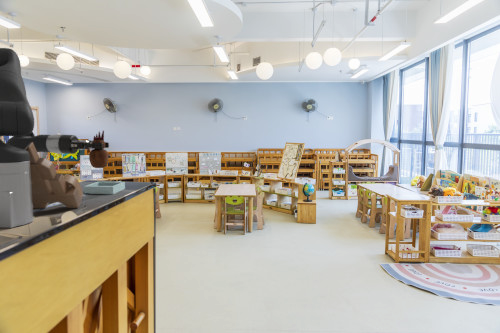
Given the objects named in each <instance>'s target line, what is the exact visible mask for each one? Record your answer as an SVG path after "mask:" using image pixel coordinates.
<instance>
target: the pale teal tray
mask: <svg viewBox="0 0 500 333" xmlns="http://www.w3.org/2000/svg"><path fill="white" fill-rule="evenodd" d="M125 189H126V182H125V181H96V182H93V183H89V184H87V185H84V186H83V194H84V193H89V194H90V195H101V194H102V195H115V194H117V193H119V192H121V191H123V190H125ZM89 194H88V195H89Z"/></svg>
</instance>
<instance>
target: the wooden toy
mask: <svg viewBox="0 0 500 333" xmlns="http://www.w3.org/2000/svg"><path fill="white" fill-rule="evenodd" d="M24 150H27V151H28V152H29V155H30V170H31V187H32V204H33V209H47V207H48V205H49V203H52V202H54V203H59V204H62V205H64V206H65V207H66V209H79V208H80V205H81V203H82V198H83V196H84V191H83V189H82V186H81V184H80V181H79V179H78V178H76V177H75V176H73V175H72V174H68V173H65V175H64V174H63V173H58V172H57V170H56V167H55V164H54V163H53V162H52V161H51V160H50V159H48V158H45V157H40V155H39V152H37V151H36V148H35V146H34V144H33V142H31V143H30V144H29V145H28V146H27V147H26V148H25V149H24Z"/></svg>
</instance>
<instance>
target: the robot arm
mask: <svg viewBox="0 0 500 333" xmlns="http://www.w3.org/2000/svg"><path fill="white" fill-rule="evenodd" d="M26 90H27V89H26V87H25V81H24V79H23V76H22V66H21V61H20V57H19V56H18V53H17V52H16V51H15V50H13V49H12V48H10V47H9V48H7V47H0V228H5V229H7V228H8V229H9V228H11V229H12V228H15V227H20V226H24V225H28V224H30V223H32V222H33V221H34V206H33V204H32V187H31V170H30V155H29V152H28V151H27V150H24V149H25V148H26V147H27V146H28V145H29V144H30V143H31V142H33V144H34V146H35V148H36V151H37V153H53V154H66V155H67V154H69V155H70V154H71V155H73V154H74V155H75V154H77V152H78V151H83V150H93V149H94V148H96V149H102V148H103V143H93V144H92V141H93V140H92V139H91V140H87V139H79V138H78V137H77V135H74V134H37V135H35V133H34V132H33V131H34V128H35V117H34V113H33V110H32V107H31V105H30V103H29V102H30V101H29V100H28V98H27V91H26ZM1 137H10V138H9V139H8V140H7V141H6V142H5V141H3V140H2V139H1ZM104 142H105V148H106V149H107V148H109V147H110V143H109V142H107V141H104ZM105 148H104V149H105Z"/></svg>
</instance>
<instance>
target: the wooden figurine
mask: <svg viewBox="0 0 500 333" xmlns="http://www.w3.org/2000/svg"><path fill="white" fill-rule="evenodd" d="M105 142H106V141H105V130H102V132H100V131H98V133H96V135H94V136H93V141H92V144H93V143H103V148H102V149H96V148H93V149H90V152H89V154H88V155H89V156H88V160H89V163H90V164H91V165H90V166H91V167H92V168H95V169H103V168H106V167H107V165H108V162H109V152H108V151H107V150H106V149H105Z"/></svg>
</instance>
